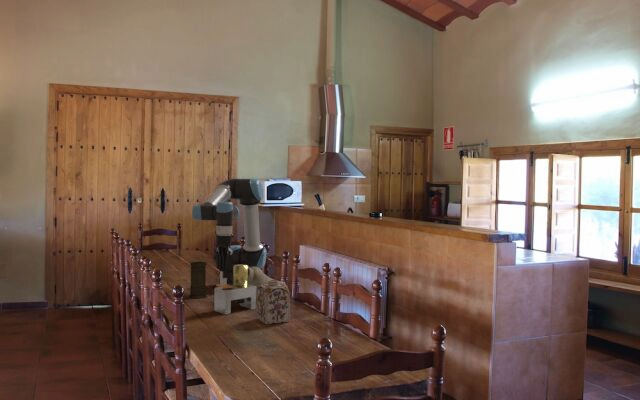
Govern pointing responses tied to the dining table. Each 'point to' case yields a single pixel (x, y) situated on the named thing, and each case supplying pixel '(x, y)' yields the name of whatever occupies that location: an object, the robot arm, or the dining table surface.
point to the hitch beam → (234, 298)
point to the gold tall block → (240, 278)
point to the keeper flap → (225, 286)
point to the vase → (258, 277)
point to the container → (198, 280)
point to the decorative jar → (273, 302)
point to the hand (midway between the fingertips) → (223, 284)
